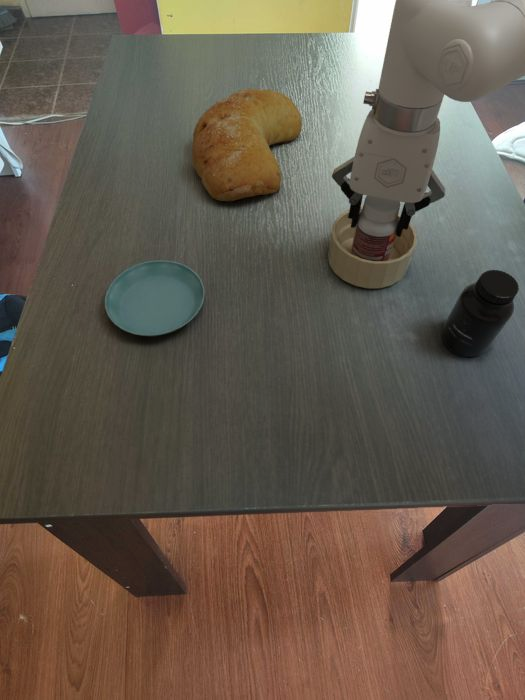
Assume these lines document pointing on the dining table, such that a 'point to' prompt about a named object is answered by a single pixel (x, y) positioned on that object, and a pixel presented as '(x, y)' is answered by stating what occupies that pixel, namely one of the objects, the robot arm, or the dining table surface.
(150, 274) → the saucer
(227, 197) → the bread
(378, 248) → the pill bottle
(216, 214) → the dining table surface
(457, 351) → the supplement bottle
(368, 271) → the beige round bowl
